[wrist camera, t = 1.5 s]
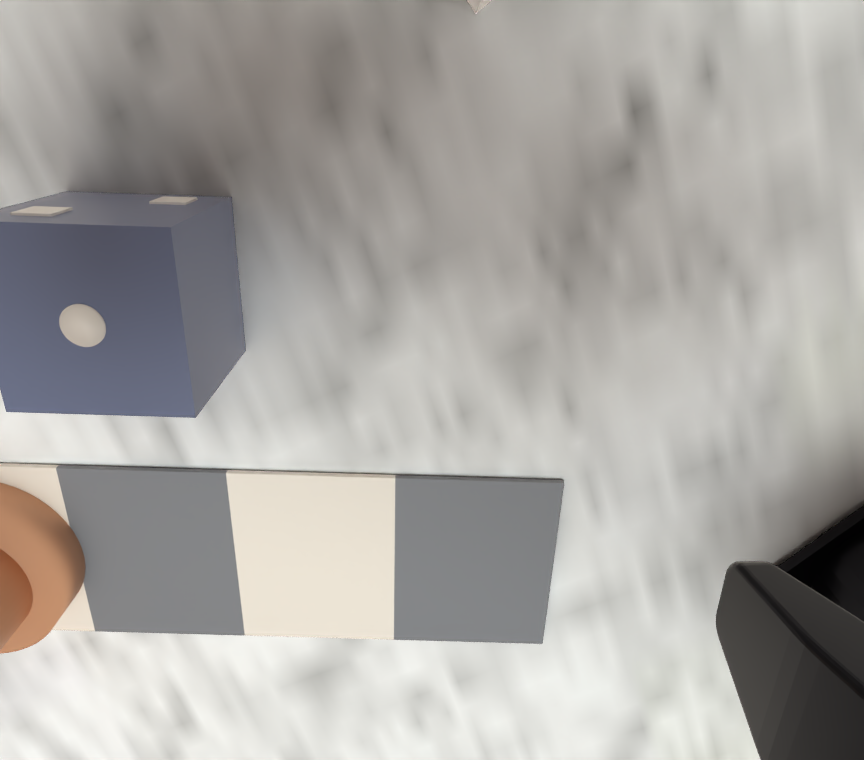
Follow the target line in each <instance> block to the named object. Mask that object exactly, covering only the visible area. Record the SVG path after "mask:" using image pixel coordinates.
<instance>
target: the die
mask: <svg viewBox="0 0 864 760" xmlns="http://www.w3.org/2000/svg"><path fill="white" fill-rule="evenodd" d="M245 351H246V348H245V337H244V326H243V315H242V305H241V294H240V283H239V272H238V261H237V250H236V240H235V229H234V218H233V207H232V197H218V196H188V195H158V194H128V193H98V192H68V191H66V192H62V193H58V194H55V195H51V196H47V197H43V198H39V199H35V200H31V201H28V202H24V203H20V204H16V205H12V206H8V207H5V208H1V209H0V390H1V393H2V397H3V401H4V405H5V409H6V412H28V413H61V414H93V415H126V416H158V417H191V418H196V417H197V415H198V414H199V412H200V411H201V410H202V408H203V407H204V406H205V404H206V403H207V402H208V400H209V399H210V398H211V396H212V395H213V394H214V392H215V391H216V390H217V388H218V387H219V386H220V384H221V383H222V382H223V380H224V379H225V378H226V376H227V375H228V374H229V372H230V371H231V370H232V368H233V367H234V366H235V364H236V363H237V361H238V360H239V359H240V357H241V356H242V355H243V353H244V352H245Z"/></svg>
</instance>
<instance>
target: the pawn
mask: <svg viewBox="0 0 864 760" xmlns="http://www.w3.org/2000/svg"><path fill="white" fill-rule="evenodd" d="M85 568H86V567H85V558H84V554H83V550H82V547H81V545H80V543H79V540H78V538H77V537H76V535H75V533H74V532H73V530H72V529H71V528H70V526H69V525H68V524H67V522H66V521H65V520H64V519H63V518H62V517H61V516H60V515H59V514H58V513H57V512H56V511H54V510H53V509H52V508H51V507H50V506H48V505H47V504H46V503H44V502H43V501H41V500H40V499H38V498H36V497H35V496H33V495H31V494H29V493H27V492H25V491H23V490H21V489H18V488H16V487H13V486H10V485H7V484H4V483H0V653H9V652H14V651H18V650H21V649H24V648H27V647H30V646H32V645H34V644H36V643H37V642H39V641H40V640H42V639H43V638H44V637H45V636H46V635H47V634H48V633H49V632H50V631H51V630H52V629H53V627H54V626H55V624H56V623H57V622H58V620H59V619H60V617H61V616H62V615H63V613H64V612H65V610H66V609H67V608H68V606H69V605H70V603H71V602H72V601H73V599H74V598H75V597H76V595H77V594H78V592H79V591H80V589H81V587H82V584H83V581H84V577H85Z"/></svg>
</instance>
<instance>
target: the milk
mask: <svg viewBox="0 0 864 760" xmlns="http://www.w3.org/2000/svg"><path fill="white" fill-rule="evenodd" d="M491 1H492V0H467V2H468V3H469V5H470V6H471V8H472V9H473V11H474V13H475V14H476V13H477V12H479V11H480V10H481V9H482V8H483V7H485V6H486V5H487V4H488V3H489V2H491Z"/></svg>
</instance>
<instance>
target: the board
mask: <svg viewBox="0 0 864 760" xmlns="http://www.w3.org/2000/svg"><path fill="white" fill-rule="evenodd" d="M0 483H4V484H7V485H10V486H13V487H16V488H18V489H21V490H23V491H25V492H27V493H29V494H31V495H33V496H35V497H36V498H38V499H40V500H41V501H43V502H44V503H46V504H47V505H48V506H50V507H51V508H52V509H53V510H54V511H56V512H57V513H58V514H59V515H60V516H61V517H62V518H63V519H64V520H65V521H66V522H67V524H68V525H69V526H70V528H71V529H72V530H73V532H74V533H75V535H76V537H77V538H78V540H79V543H80V545H81V547H82V550H83V554H84V558H85V567H86V568H85V577H84V581H83V584H82V587H81V589H80V591H79V592H78V594H77V595H76V597H75V598H74V599H73V601H72V602H71V603H70V605H69V606H68V608H67V609H66V610H65V612H64V613H63V615H62V616H61V617H60V619H59V620H58V622H57V623H56V624H55V626H54V627H53V629H52V630H71V631H107V632H142V633H178V634H214V635H249V636H285V637H320V638H356V639H392V640H427V641H463V642H498V643H534V644H542V643H543V636H544V629H545V621H546V614H547V606H548V599H549V592H550V584H551V577H552V569H553V562H554V554H555V547H556V540H557V532H558V525H559V517H560V510H561V503H562V495H563V488H564V482H563V480H548V479H514V478H481V477H447V476H414V475H380V474H347V473H313V472H279V471H246V470H212V469H179V468H145V467H112V466H78V465H45V464H11V463H0Z"/></svg>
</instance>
